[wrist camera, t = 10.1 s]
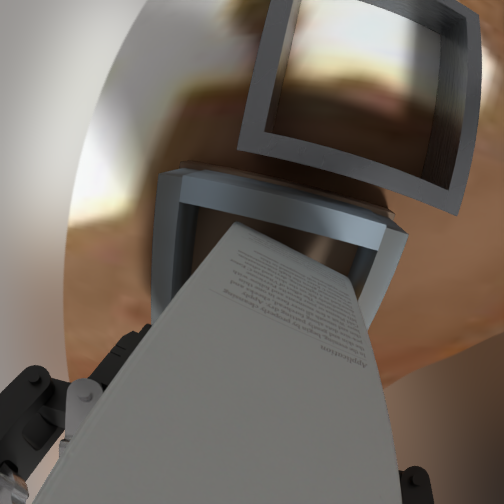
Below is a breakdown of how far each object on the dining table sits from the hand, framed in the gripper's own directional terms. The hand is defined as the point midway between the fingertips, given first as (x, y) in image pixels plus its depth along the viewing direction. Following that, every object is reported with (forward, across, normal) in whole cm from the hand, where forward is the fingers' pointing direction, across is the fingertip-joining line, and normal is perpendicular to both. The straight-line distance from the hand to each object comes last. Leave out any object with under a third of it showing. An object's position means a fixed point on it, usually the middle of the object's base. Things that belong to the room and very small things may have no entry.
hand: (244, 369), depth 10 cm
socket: (+8, -3, -14) cm, 16 cm away
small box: (+5, 0, 0) cm, 5 cm away
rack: (+8, 0, 0) cm, 8 cm away
